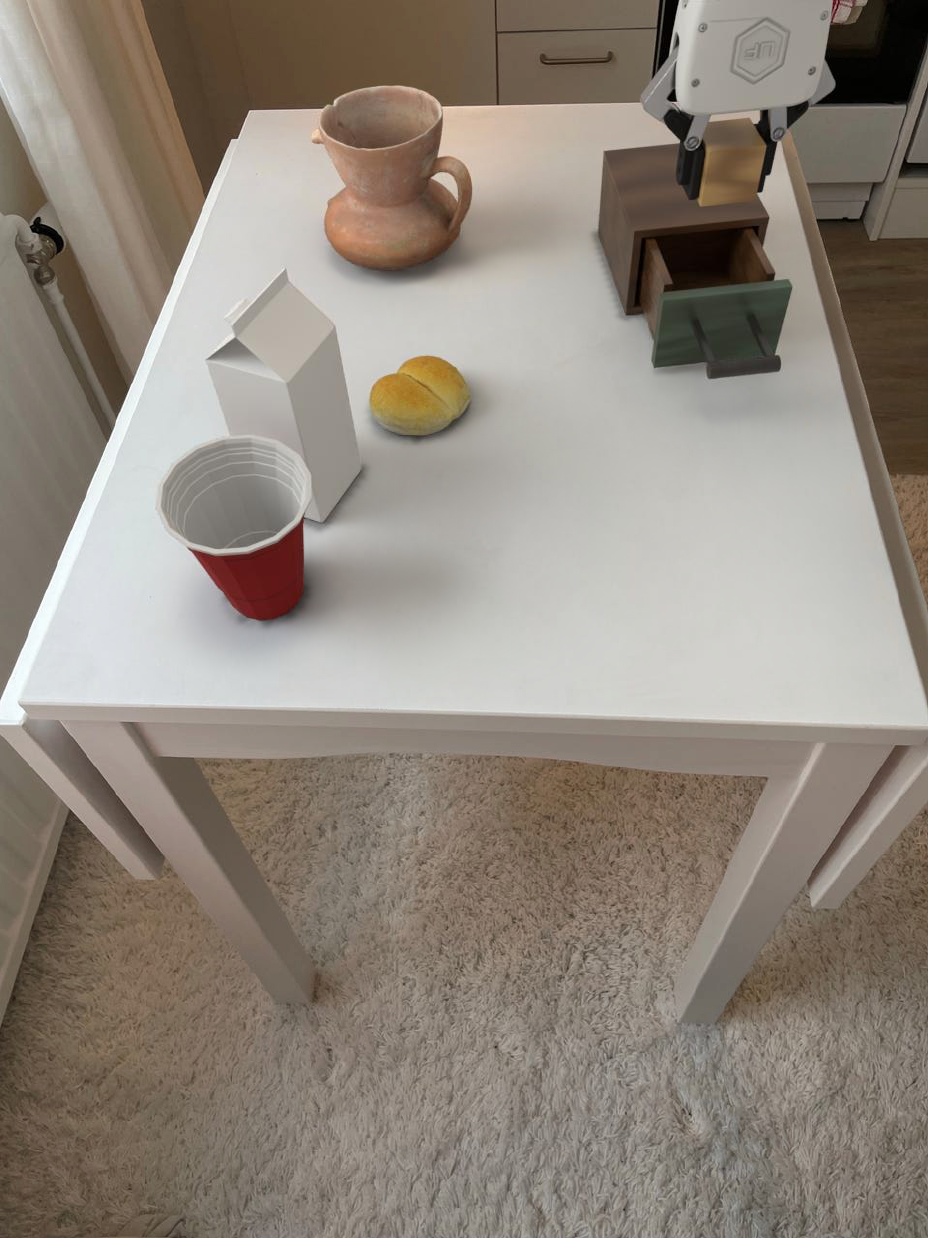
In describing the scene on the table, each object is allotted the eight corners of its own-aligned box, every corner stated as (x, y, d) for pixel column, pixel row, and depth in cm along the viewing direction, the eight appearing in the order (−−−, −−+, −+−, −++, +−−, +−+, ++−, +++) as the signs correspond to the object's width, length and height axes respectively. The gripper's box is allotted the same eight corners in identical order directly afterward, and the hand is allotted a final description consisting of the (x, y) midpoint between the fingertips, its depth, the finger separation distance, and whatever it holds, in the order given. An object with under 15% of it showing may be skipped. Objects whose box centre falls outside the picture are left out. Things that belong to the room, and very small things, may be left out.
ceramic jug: (293, 262, 103) (265, 129, 91) (366, 196, 110) (348, 65, 98) (437, 306, 97) (426, 170, 85) (504, 233, 104) (502, 99, 93)
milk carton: (363, 469, 83) (327, 277, 68) (322, 525, 80) (275, 336, 64) (293, 447, 85) (243, 257, 70) (250, 501, 82) (188, 312, 66)
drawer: (799, 406, 84) (820, 338, 78) (672, 420, 84) (683, 352, 78) (735, 271, 96) (749, 202, 91) (623, 282, 96) (630, 215, 90)
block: (739, 171, 77) (749, 116, 74) (755, 201, 74) (767, 145, 71) (685, 177, 77) (693, 122, 73) (700, 207, 74) (709, 151, 71)
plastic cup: (246, 674, 71) (203, 572, 61) (176, 588, 76) (126, 482, 67) (364, 598, 75) (341, 491, 65) (290, 521, 80) (258, 412, 70)
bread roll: (354, 411, 88) (348, 377, 85) (427, 366, 91) (423, 331, 88) (413, 455, 84) (409, 420, 81) (486, 406, 87) (485, 371, 84)
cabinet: (750, 302, 95) (770, 216, 87) (625, 315, 94) (634, 230, 87) (712, 221, 103) (727, 137, 96) (597, 233, 103) (603, 150, 96)
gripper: (652, -51, 58) (625, 225, 73) (921, -78, 59) (841, 201, 74) (625, -94, 63) (605, 174, 78) (875, -119, 63) (809, 152, 78)
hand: (720, 185), depth 75 cm, fingers closed on block, 4 cm apart
